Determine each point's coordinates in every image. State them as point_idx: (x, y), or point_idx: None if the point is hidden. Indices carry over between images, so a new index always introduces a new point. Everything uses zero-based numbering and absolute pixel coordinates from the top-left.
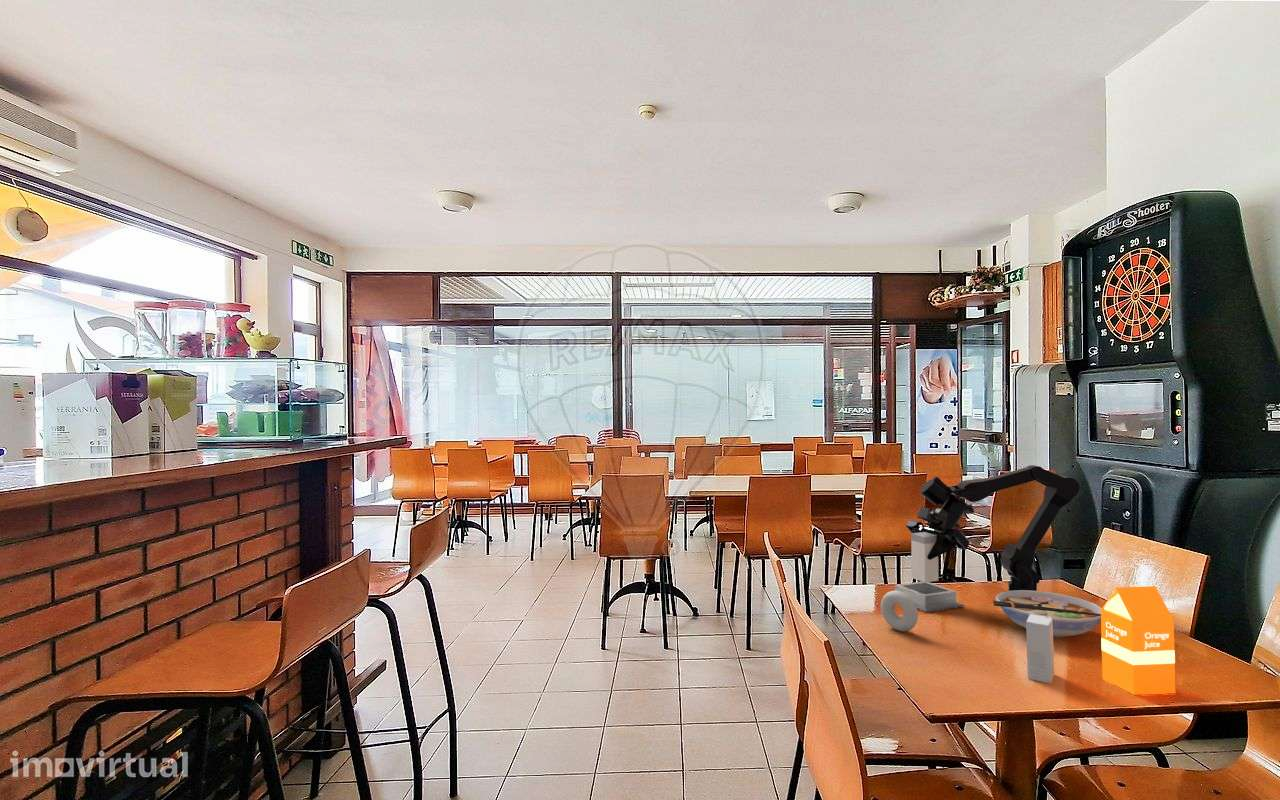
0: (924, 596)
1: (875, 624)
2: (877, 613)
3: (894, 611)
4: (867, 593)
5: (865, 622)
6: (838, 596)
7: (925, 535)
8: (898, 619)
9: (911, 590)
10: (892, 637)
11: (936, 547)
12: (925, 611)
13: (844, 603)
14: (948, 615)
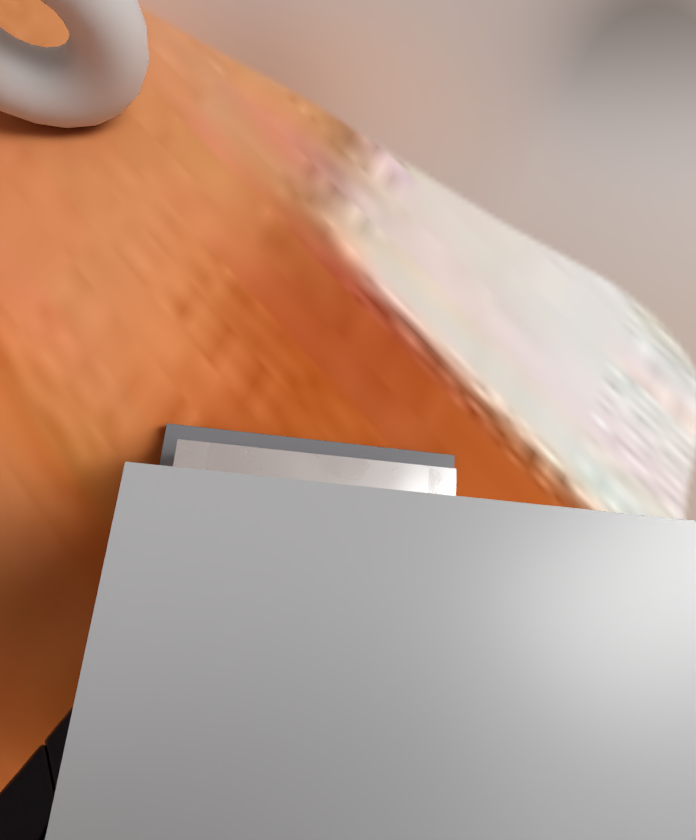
0: (184, 440)
1: (187, 102)
2: (292, 220)
3: (70, 43)
4: (558, 426)
5: (229, 91)
6: (564, 267)
7: (324, 796)
8: (34, 46)
9: (316, 465)
10: (31, 33)
11: (17, 780)
12: (167, 426)
13: (470, 212)
14: (63, 510)
